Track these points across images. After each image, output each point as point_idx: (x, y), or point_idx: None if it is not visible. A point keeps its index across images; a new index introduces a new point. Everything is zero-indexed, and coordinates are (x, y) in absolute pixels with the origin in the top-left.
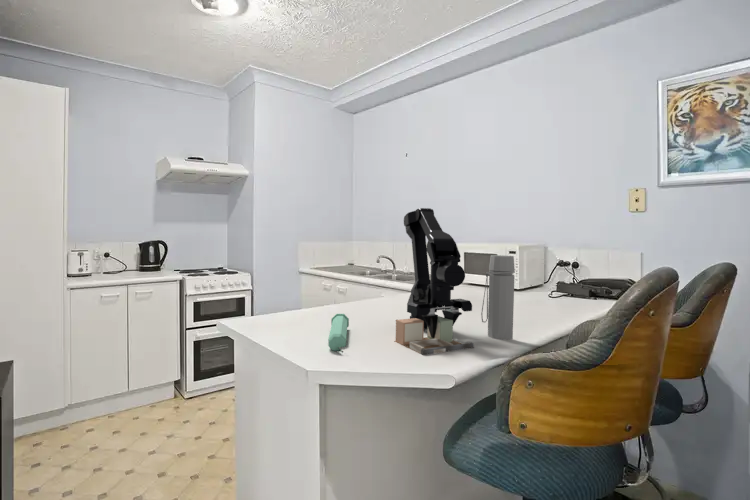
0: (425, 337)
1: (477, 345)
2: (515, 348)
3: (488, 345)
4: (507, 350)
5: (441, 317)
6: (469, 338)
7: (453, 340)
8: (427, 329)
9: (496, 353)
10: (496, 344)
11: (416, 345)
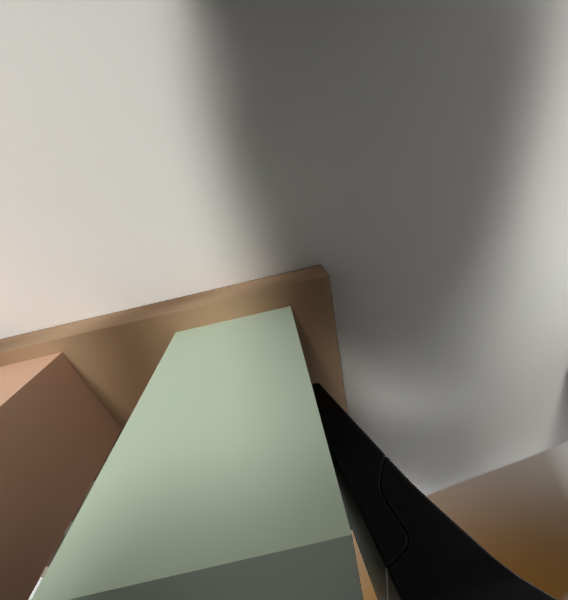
0: (162, 318)
1: (446, 402)
2: (549, 446)
3: (494, 406)
4: (496, 463)
5: (328, 596)
6: (536, 265)
7: (341, 405)
8: (146, 388)
9: (425, 486)
10: (543, 396)
11: (42, 576)
